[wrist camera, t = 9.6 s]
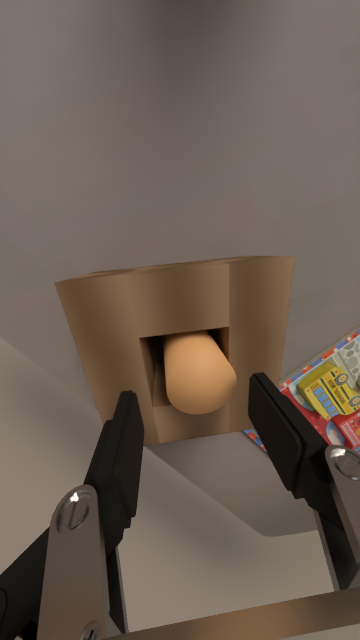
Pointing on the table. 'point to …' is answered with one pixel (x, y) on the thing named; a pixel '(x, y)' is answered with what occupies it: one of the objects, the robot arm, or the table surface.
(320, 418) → the puzzle board
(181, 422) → the socket block
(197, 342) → the peg
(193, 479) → the table surface
